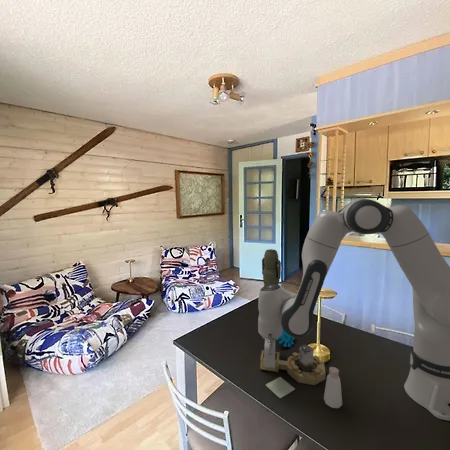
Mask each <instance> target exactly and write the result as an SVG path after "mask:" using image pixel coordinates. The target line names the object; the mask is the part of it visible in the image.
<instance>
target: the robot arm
mask: <svg viewBox="0 0 450 450" xmlns="http://www.w3.org/2000/svg"><path fill="white" fill-rule="evenodd" d="M351 232H353V233H357V234H361V235H372V234H381V235H382V237H383V238H384V239H385V242H386V244H387V245H388V247H389V249H390V251H391V252H392V254H393V257H394V258H395V260H396V263H398V265H399V267H400V269H401V270H402V272H403V273H404V274H403V275H405V277H406V278H407V280H408V282H409V284H410V286H411V287H412V308H413V309H412V310H413V318H414V319H413V320H414V330H413V331H414V332H413V333H414V334H413V346H412V347H411V352H410V359H409V364H410V369H409V374H408V376H407V378H406V381H405V382H404V384H403V387H404V390H405V393H406V394H407V395H408V396H409V398H411V399H412V400H413V401H414V402H416V404H419V405H420V406H421V407H423V408H425V409H426V410H428V412H430V413H431V414H432V415H433V416H434V417H435V418H437V419H439V420H443V421H450V265H449V264H448V262H447V261H446V260H445V258H444V257H443V255H442V253H441V252H440V250H439V249H438V247H437V245H436V243H435V241H434V239H433V237H432V236H431V233H430V232H429V231H428V229H427V228H426V226H425V224H424V223H423V221H421V219H420V218H419V217H418V215H417V214H416V213H415V212H414V211H413V210H412V209H411V208H410V207H409V206H407V205H402V204H401V205H400V204H397V205H393V206H390V207H387V206H385V205H383V204H382V203H380V202H379V201H377V200H374V199H369V198H360V199H359V198H358V199H355V200H353V201H351V202H349V203H347V204H346V205H344V207H342V208H341V209H340V210H338V211H333V210H323V211H321V212H319V213H318V214H317V216H316V217H315V218H314V220H313V221H312V224H311V226H310V228H309V230H308V231H307V234H306V237H305V239H304V243H303V246H302V250H301V261H302V278H301V282H300V285H299V287H298V290H297V292H292V291H290V290H287V289H285V288H283V287H282V286H281V285H280V284H278V285H277V284H269V285H266V286H264V285H263V286H262V287H261V288H260V289H259V292H258V302H257V303H258V304H257V305H258V306H257V308H258V309H257V310H258V312H259V313H258V319H257V330H258V331H257V332H258V334H259V335H260V336H261V337H262V338H263V339H264V350H265V351H264V364H265V366H266V367H275V352H276V341H277V339H278V338H279V337H280V336H281V335H282V328H283V329H284V331H285V332H286V333H287V334H289V335H290V336H291V337H294V338H304V337H306V336H307V337H308V336H309V335H310V334H311V333H312V331H313V330H314V327H315V326H314V324H315V323H314V322H315V321H314V312H315V309H316V305H317V303H318V299H319V296H320V295H321V292H322V290H323V289H322V288H323V285H324V282H325V279H326V277H327V275H328V273H329V270H330V268H331V266H332V263H333V262H334V259H335V257H336V255H337V253H338V251H339V249H340V246H341V243H342V241H343V240H344V238H345V237H346V235H347V234H349V233H351Z"/></svg>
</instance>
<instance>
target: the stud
mask: <svg viewBox="0 0 450 450" xmlns="http://www.w3.org/2000/svg"><path fill="white" fill-rule="evenodd" d="M298 353H299V365H298V367H299V370H300V371H302V372H308V373H312V372H314V367H313V356H314V349H313V347H311V346H310V345H308V344H302V345H301V346H299V348H298Z"/></svg>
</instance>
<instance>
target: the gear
mask: <svg viewBox="0 0 450 450" xmlns="http://www.w3.org/2000/svg"><path fill="white" fill-rule="evenodd" d="M294 340H295V337H293V336H290V335H289V334H287V333H286V332H285V331H284V329H283V328H282V335H281V336H280V337H279V338H278V339H277V340H276V341H278V344H279V345H282V344H283V345H282V347H284V348H286V347H287V348H291V347H292V345H294Z"/></svg>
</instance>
